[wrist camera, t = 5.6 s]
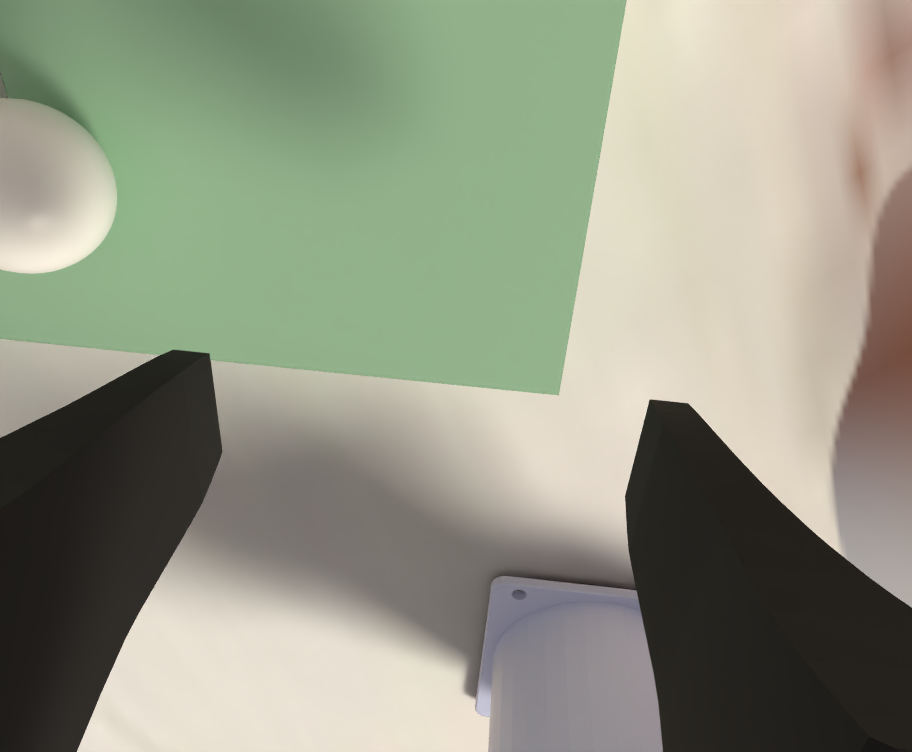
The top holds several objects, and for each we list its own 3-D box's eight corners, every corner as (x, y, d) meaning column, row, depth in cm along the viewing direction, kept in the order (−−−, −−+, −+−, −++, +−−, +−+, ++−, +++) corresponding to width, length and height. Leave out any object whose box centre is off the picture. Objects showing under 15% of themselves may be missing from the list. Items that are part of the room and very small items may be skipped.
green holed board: (640, -158, 15) (668, -174, 12) (556, 356, 21) (560, 428, 18) (-413, -236, 15) (-636, -270, 12) (-180, 283, 22) (-289, 341, 19)
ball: (-112, 173, 13) (-141, 146, 15) (31, 326, 15) (-13, 282, 17) (70, 70, 14) (17, 60, 16) (175, 227, 16) (115, 198, 19)
